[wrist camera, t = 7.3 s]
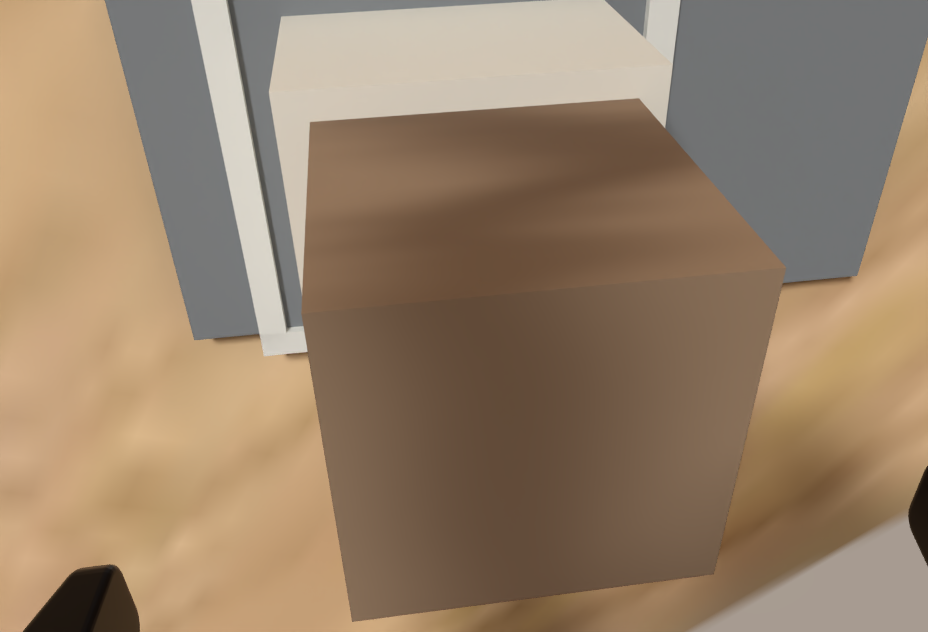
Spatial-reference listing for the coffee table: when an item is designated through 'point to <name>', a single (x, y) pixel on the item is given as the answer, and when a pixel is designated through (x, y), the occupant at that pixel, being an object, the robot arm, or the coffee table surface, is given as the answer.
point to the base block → (450, 69)
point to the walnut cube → (526, 351)
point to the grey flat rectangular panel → (640, 3)
